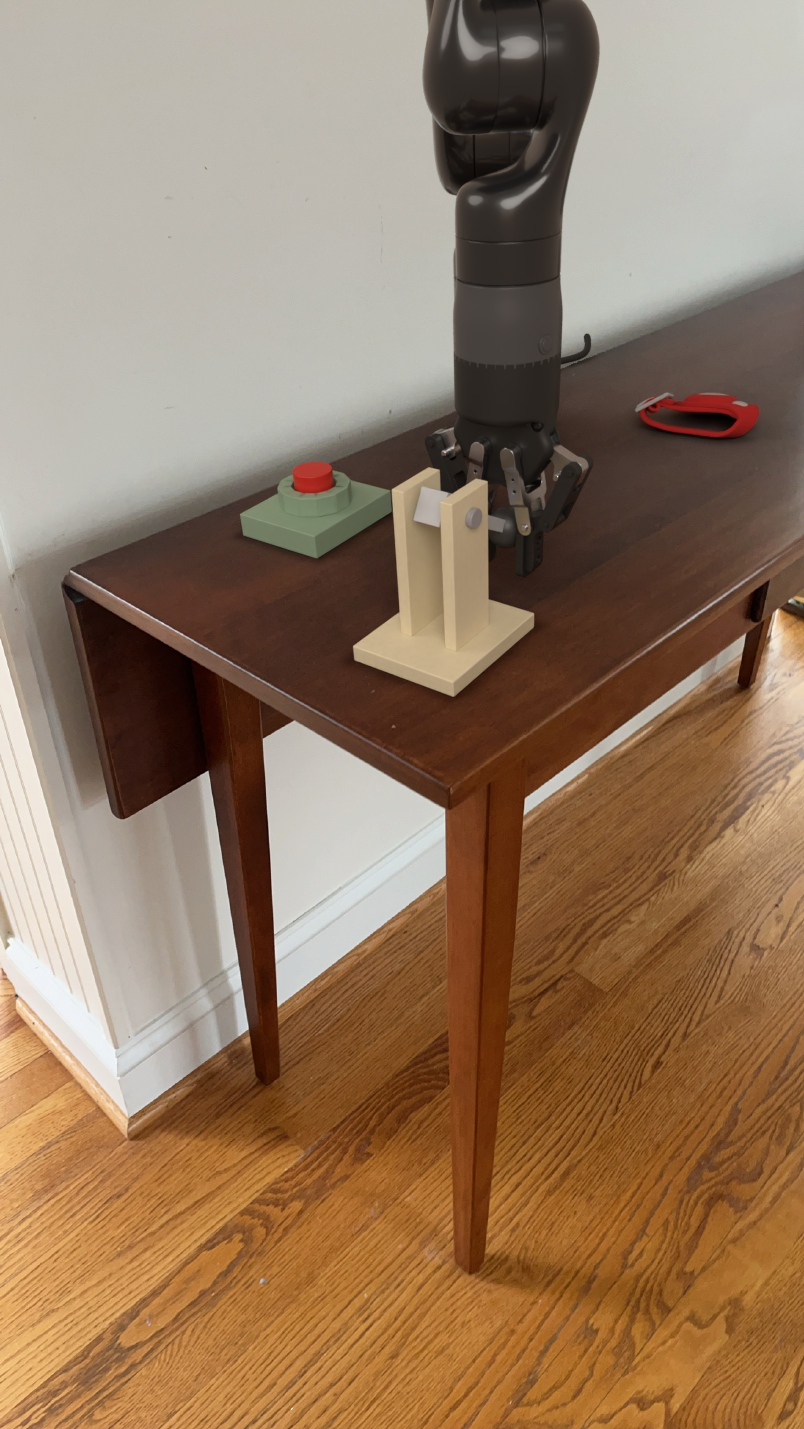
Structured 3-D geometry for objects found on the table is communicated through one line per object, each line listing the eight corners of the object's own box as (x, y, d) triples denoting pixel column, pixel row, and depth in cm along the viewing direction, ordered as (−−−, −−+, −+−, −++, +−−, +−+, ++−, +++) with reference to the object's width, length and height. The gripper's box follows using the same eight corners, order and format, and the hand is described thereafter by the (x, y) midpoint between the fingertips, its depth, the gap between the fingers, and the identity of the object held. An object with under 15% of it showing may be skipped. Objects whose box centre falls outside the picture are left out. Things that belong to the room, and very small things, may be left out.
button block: (319, 492, 101) (315, 453, 99) (392, 511, 97) (389, 472, 94) (242, 535, 94) (236, 495, 92) (317, 559, 90) (312, 517, 87)
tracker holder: (712, 393, 114) (782, 395, 106) (707, 434, 115) (775, 439, 107) (627, 389, 109) (693, 391, 100) (623, 432, 110) (688, 437, 102)
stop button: (312, 476, 95) (310, 458, 94) (342, 484, 93) (340, 466, 92) (286, 490, 93) (284, 472, 92) (316, 498, 91) (314, 480, 90)
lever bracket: (438, 597, 83) (432, 446, 76) (534, 627, 78) (538, 469, 71) (353, 660, 76) (337, 501, 69) (453, 697, 72) (448, 531, 64)
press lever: (493, 544, 82) (504, 505, 81) (527, 554, 80) (539, 514, 79) (405, 524, 71) (417, 478, 70) (443, 535, 69) (455, 488, 69)
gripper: (624, 343, 70) (607, 570, 80) (454, 320, 77) (458, 530, 87) (570, 373, 65) (559, 610, 75) (394, 345, 72) (405, 564, 82)
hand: (505, 566), depth 81 cm, fingers closed on press lever, 3 cm apart
